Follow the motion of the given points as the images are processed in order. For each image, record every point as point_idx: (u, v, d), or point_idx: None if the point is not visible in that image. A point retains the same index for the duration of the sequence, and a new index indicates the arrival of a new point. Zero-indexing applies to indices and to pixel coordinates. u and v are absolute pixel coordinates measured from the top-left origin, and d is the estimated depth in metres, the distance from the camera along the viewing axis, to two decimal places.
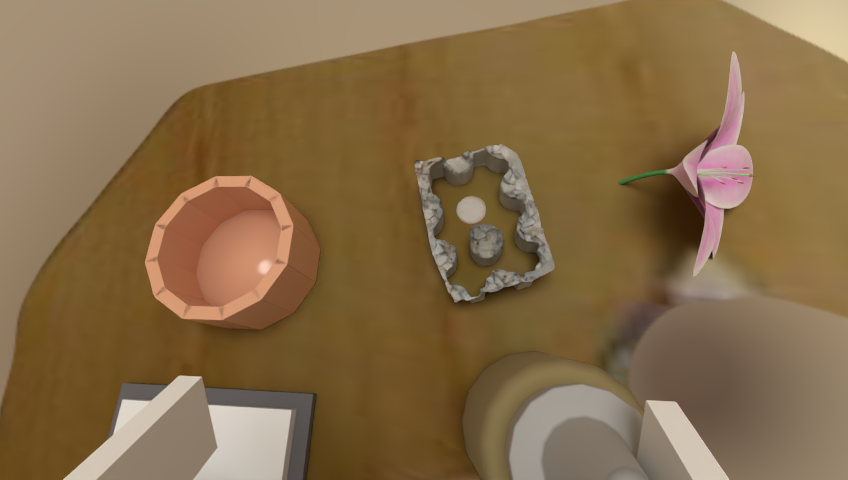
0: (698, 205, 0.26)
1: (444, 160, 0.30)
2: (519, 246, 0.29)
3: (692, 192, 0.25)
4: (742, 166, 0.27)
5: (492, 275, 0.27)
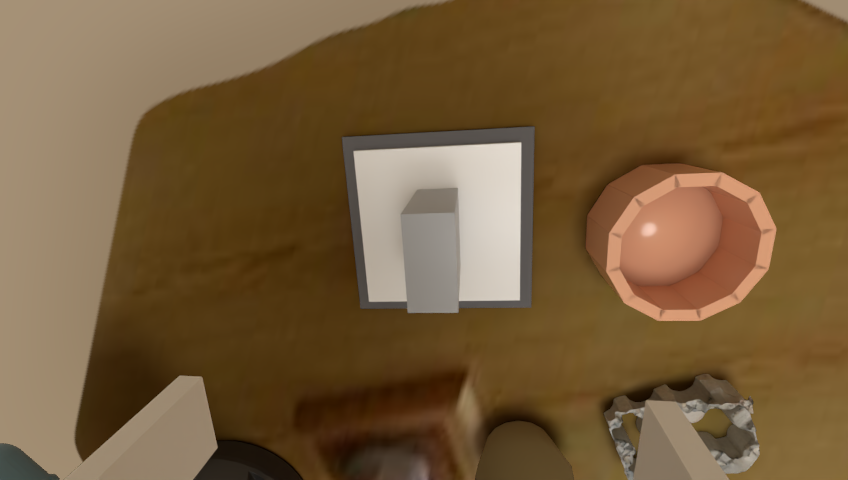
0: None
1: None
2: None
3: None
4: None
5: (630, 446, 0.34)
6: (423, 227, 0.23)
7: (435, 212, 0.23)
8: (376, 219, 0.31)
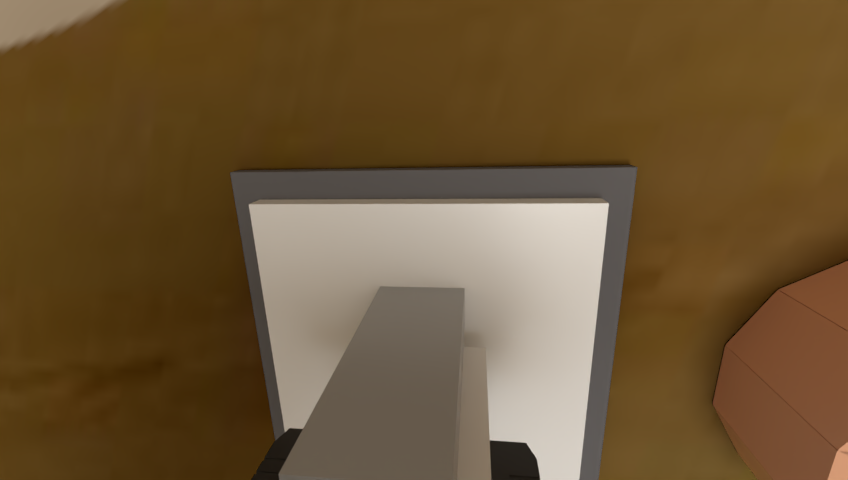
0: None
1: None
2: None
3: None
4: None
5: None
6: None
7: (390, 473, 0.07)
8: (299, 336, 0.16)
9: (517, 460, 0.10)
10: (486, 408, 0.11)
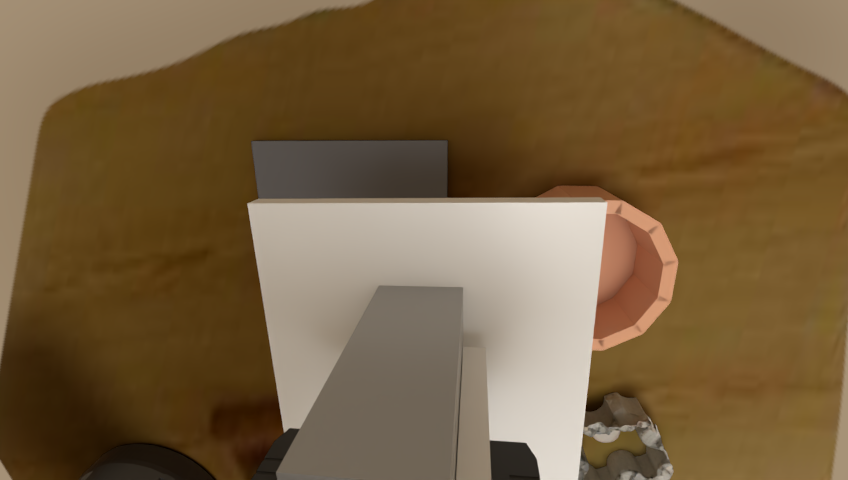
0: None
1: None
2: None
3: None
4: None
5: None
6: None
7: (387, 471, 0.07)
8: (298, 335, 0.16)
9: (517, 460, 0.10)
10: (486, 408, 0.11)
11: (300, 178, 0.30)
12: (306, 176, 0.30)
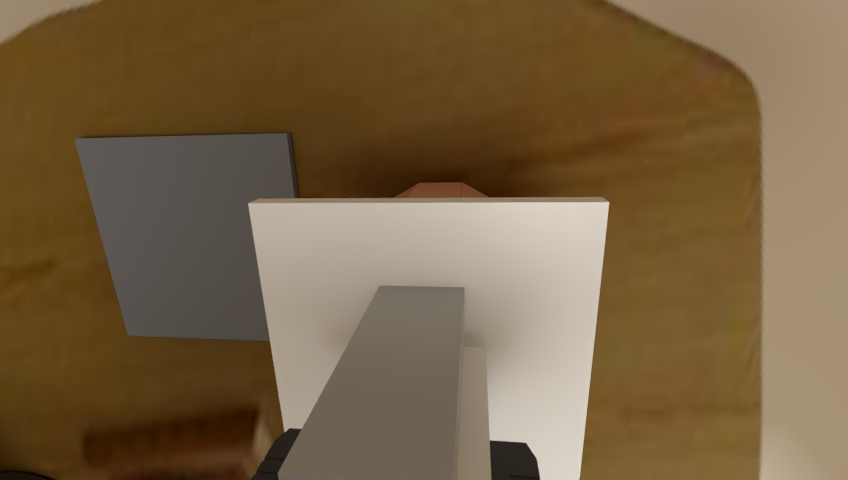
0: None
1: None
2: None
3: None
4: None
5: None
6: None
7: (389, 472, 0.07)
8: (299, 335, 0.16)
9: (517, 460, 0.10)
10: (486, 408, 0.11)
11: (133, 179, 0.26)
12: (139, 177, 0.26)
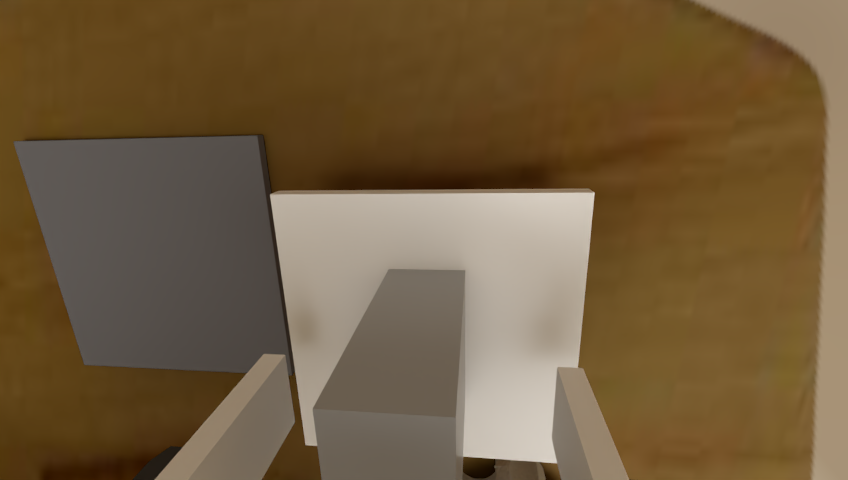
0: None
1: None
2: None
3: None
4: None
5: None
6: (372, 442, 0.09)
7: (404, 407, 0.09)
8: (314, 316, 0.17)
9: None
10: (611, 442, 0.10)
11: (82, 189, 0.23)
12: (89, 186, 0.23)
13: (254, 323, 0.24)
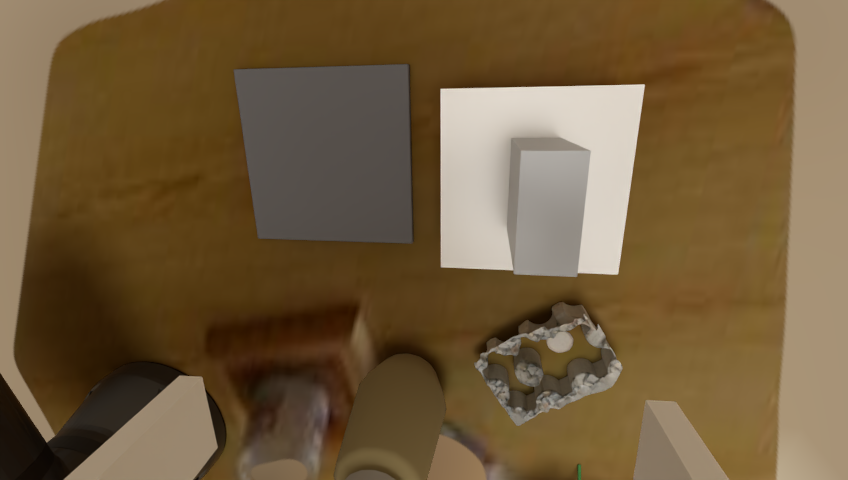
0: None
1: (596, 327, 0.33)
2: None
3: None
4: None
5: (502, 383, 0.36)
6: (548, 168, 0.19)
7: (564, 150, 0.18)
8: (459, 171, 0.27)
9: None
10: None
11: (278, 104, 0.33)
12: (283, 101, 0.33)
13: (389, 203, 0.34)
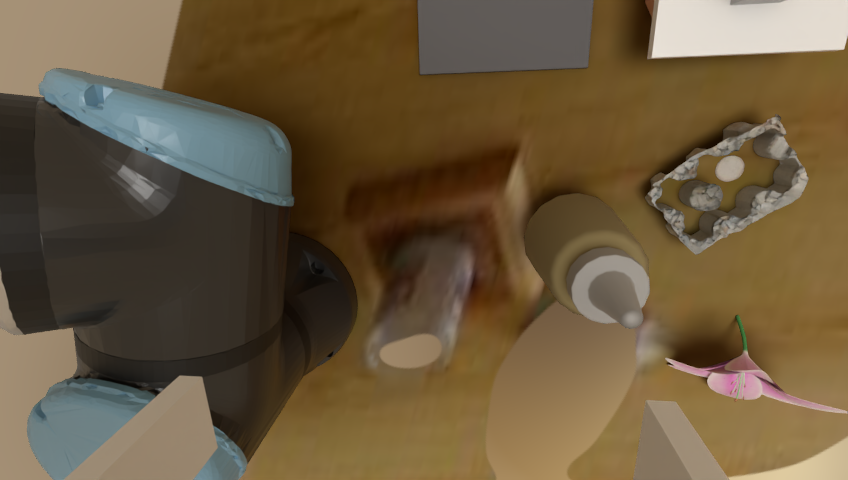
0: (714, 365, 0.38)
1: (782, 135, 0.32)
2: (703, 217, 0.37)
3: (727, 365, 0.36)
4: (740, 393, 0.39)
5: (677, 212, 0.35)
6: None
7: None
8: None
9: None
10: None
11: None
12: None
13: (567, 22, 0.33)
